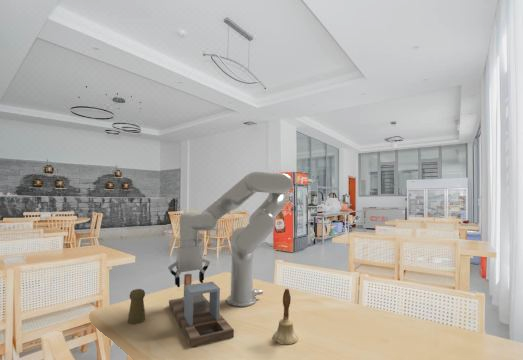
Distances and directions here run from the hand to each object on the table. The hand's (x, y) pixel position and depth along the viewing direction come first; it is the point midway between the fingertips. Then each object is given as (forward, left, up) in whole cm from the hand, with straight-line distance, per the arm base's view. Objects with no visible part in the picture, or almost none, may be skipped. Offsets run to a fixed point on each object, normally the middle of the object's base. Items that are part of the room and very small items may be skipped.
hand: (189, 284), depth 123 cm
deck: (+1, +15, -9) cm, 18 cm away
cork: (+21, +6, -9) cm, 23 cm away
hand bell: (-21, +41, -9) cm, 47 cm away
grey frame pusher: (+1, +6, -6) cm, 8 cm away
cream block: (+1, +10, -6) cm, 12 cm away
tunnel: (+1, +20, -6) cm, 21 cm away
